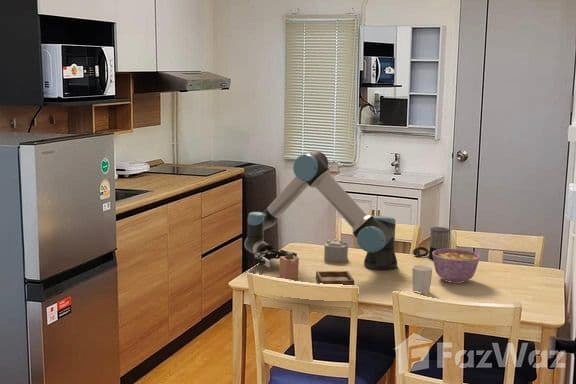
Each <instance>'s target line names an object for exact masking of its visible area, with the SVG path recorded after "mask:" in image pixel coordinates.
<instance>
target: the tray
mask: <svg viewBox="0 0 576 384" xmlns="http://www.w3.org/2000/svg"><path fill="white" fill-rule="evenodd" d="M315 278H316V280H317V282H318V284H319V283H323V284H343V285H354V286H355V280H354V277H353V276H352V274H351V273H350V271H348V270H335V271H334V270H324V271H323V270H321V271H320V270H316V272H315Z"/></svg>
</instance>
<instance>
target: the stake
mask: <svg viewBox="0 0 576 384" xmlns="http://www.w3.org/2000/svg"><path fill="white" fill-rule="evenodd" d="M291 252H292V251H288V253H286V255H285V258H286V259H293V253H291Z"/></svg>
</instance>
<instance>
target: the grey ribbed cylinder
mask: <svg viewBox="0 0 576 384" xmlns="http://www.w3.org/2000/svg"><path fill="white" fill-rule="evenodd" d="M429 229H430V236H429V237H430V238H429V249H428V248H426V247H424V246H419V247H416V248H414V249H413V250H412V254H413V255H414V256H416V257H418V258H420V257H421V258H423V257H422V256H424V257H427V256H428V260H430V259H431V260H430V261H433V255H432V253H433V251H435V250H438V249H449V236H450V229H449V228H447V227H441V226H432V227H430V228H429ZM420 251H424V252H425V253H422V254H420V253H421V252H420Z"/></svg>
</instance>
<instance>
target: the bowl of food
mask: <svg viewBox="0 0 576 384" xmlns="http://www.w3.org/2000/svg"><path fill="white" fill-rule="evenodd" d="M432 255H433V260H432V261H433V266H434V270H435V273H436V274H437V275H438V277H439V278H441V279H443V280H444V281H445V280H447V281H451V282H462V281H464V282H467V281H469V280H471V279H472V278H473V277H474V276H475V273H476V270H477V267H478V264H479V261H480V258H481V255H480V254H479V253H477V252H474V251H471V250H466V249H460V248H448V249H438V250H435V251H433V253H432ZM447 281H446V282H447ZM451 282H450V283H451Z"/></svg>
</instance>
